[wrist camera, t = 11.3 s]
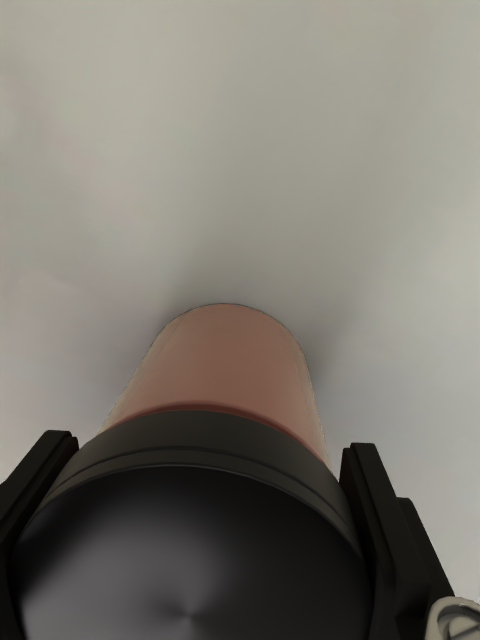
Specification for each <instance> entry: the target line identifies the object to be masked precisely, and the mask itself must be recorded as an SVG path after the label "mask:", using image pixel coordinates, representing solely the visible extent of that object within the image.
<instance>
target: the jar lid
mask: <svg viewBox="0 0 480 640" xmlns="http://www.w3.org/2000/svg"><path fill="white" fill-rule="evenodd" d="M7 583H8V588H9V594H10V598H11V603H12V607H13V612H14V616H15V620H16V623H17V626H18V628H19V631H20V633H21V634H22V636H23V638H24V639H25V640H368V639H369V633H370V628H371V622H372V616H373V609H374V593H373V588H372V584H371V579H370V575H369V571H368V568H367V564H366V561H365V556H364V553H363V549H362V545H361V541H360V538H359V534H358V530H357V526H356V523H355V519H354V515H353V511H352V509H351V506H350V504H349V501H348V499H347V496H346V494H345V492H344V491H343V489H342V487H341V486H340V484H339V482H338V481H337V479H336V478H335V476H334V475H333V474H332V473H331V472H330V470H329V469H328V468H327V467H326V466H325V464H324V463H323V462H322V461H320V460H319V459H318V458H317V457H316V456H315V455H314V454H313V453H312V452H311V451H310V450H308V449H307V448H306V447H304V446H303V445H302V444H300V443H299V442H297V441H296V440H294V439H293V438H291V437H290V436H288V435H286V434H284V433H283V432H280V431H279V430H277V429H275V428H273V427H271V426H268V425H266V424H263V423H260V422H258V421H255V420H253V419H250V418H246V417H242V416H238V415H234V414H230V413H224V412H217V411H210V410H186V409H183V410H172V411H162V412H157V413H152V414H148V415H143V416H139V417H136V418H134V419H131V420H128V421H125V422H122V423H120V424H118V425H116V426H114V427H112V428H110V429H108V430H106V431H104V432H102V433H100V434H99V435H97V436H96V437H95V438H93V439H92V440H90V441H89V442H87V443H86V444H85V445H84V446H83V447H82V448H81V449H80V450H78V451H77V452H76V453H75V454H74V455H73V456H72V457H71V459H70V460H69V461H68V463H67V464H66V465H65V467H64V468H63V469H62V471H61V472H60V474H59V475H58V477H57V478H56V480H55V481H54V483H53V484H52V486H51V487H50V489H49V490H48V492H47V494H46V495H45V497H44V498H43V500H42V501H41V503H40V504H39V506H38V507H37V509H36V510H35V512H34V514H33V515H32V516H31V518H30V520H29V521H28V523H27V524H26V526H25V527H24V529H23V531H22V532H21V534H20V536H19V538H18V540H17V542H16V544H15V546H14V549H13V553H12V556H11V559H10V563H9V571H8V581H7Z"/></svg>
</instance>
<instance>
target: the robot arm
mask: <svg viewBox="0 0 480 640" xmlns="http://www.w3.org/2000/svg"><path fill="white" fill-rule="evenodd" d="M78 450H79V444H78V439H77V437H72V434H71V432H70V431H60V430H47V431H46V432H44V434H43V435H42V436H41V437H40V438H39V440H38V441H37V442H36V443H35V445H34V446H33V447H32V448H31V450H30V451H29V452H28V453H27V455H26V456H25V457H24V458H23V460H22V461H21V462H20V463H19V465H18V466H17V467H16V468H15V470H14V471H13V472H12V473H11V474H10V476H9V477H8V478H7V479H6V481H4V482H3V483H2V484H1V485H0V640H25V639H24V638H23V636H22V634H21V633H20V631H19V628H18V626H17V623H16V620H15V616H14V612H13V607H12V603H11V598H10V594H9V588H8V583H7V581H8V571H9V563H10V559H11V556H12V553H13V549H14V546H15V544H16V542H17V540H18V538H19V536H20V534H21V532H22V531H23V529H24V527H25V526H26V524H27V523H28V521H29V520H30V518H31V516H32V515H33V514H34V512H35V510H36V509H37V507H38V506H39V504H40V503H41V501H42V500H43V498H44V497H45V495H46V494H47V492H48V490H49V489H50V487H51V486H52V484H53V483H54V481H55V480H56V478H57V477H58V475H59V474H60V472H61V471H62V469H63V468H64V467H65V465H66V464H67V463H68V461H69V460H70V459H71V457H72V456H73V455H74V454H75V453H76V452H77V451H78ZM339 484H340V486H341V487H342V489H343V491H344V492H345V494H346V496H347V499H348V501H349V504H350V506H351V509H352V511H353V515H354V519H355V523H356V526H357V530H358V534H359V538H360V541H361V545H362V549H363V553H364V556H365V561H366V564H367V568H368V571H369V575H370V579H371V584H372V588H373V593H374V609H373V616H372V622H371V628H370V633H369V639H368V640H480V605H479V604H478V603H476V602H474V601H472V600H468V599H465V598H462V597H455V594H454V592H453V590H452V588H451V586H450V583H449V581H448V579H447V577H446V575H445V572H444V570H443V568H442V566H441V564H440V561H439V559H438V557H437V555H436V553H435V550H434V548H433V546H432V544H431V542H430V539H429V537H428V535H427V533H426V531H425V528H424V526H423V524H422V522H421V520H420V517H419V515H418V513H417V511H416V509H415V506H414V504H413V503H412V501H411V500H410V499H409V498H400V497H396V495H395V492H394V490H393V487H392V485H391V483H390V480H389V478H388V475H387V473H386V470H385V468H384V466H383V463H382V461H381V458H380V456H379V454H378V451H377V449H376V446H375V445H374V444H373V443H353V442H352V443H351V445H350V448H344V449H343V453H342V462H341V470H340V478H339Z"/></svg>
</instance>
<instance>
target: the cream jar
mask: <svg viewBox="0 0 480 640" xmlns="http://www.w3.org/2000/svg"><path fill="white" fill-rule="evenodd" d="M183 409H186V410H210V411H217V412H224V413H230V414H234V415H238V416H242V417H246V418H250V419H253V420H255V421H258V422H260V423H263V424H266V425H268V426H271V427H273V428H275V429H277V430H279V431H280V432H283V433H284V434H286V435H288V436H290V437H291V438H293V439H294V440H296V441H297V442H299V443H300V444H302V445H303V446H304V447H306V448H307V449H308V450H310V451H311V452H312V453H313V454H314V455H315V456H316V457H317V458H318V459H319V460H320V461H322V462H323V463H324V464H325V466H326V467H327V468H328V469H329V470H330V472H331V473H332V469H331V465H330V460H329V456H328V452H327V448H326V443H325V439H324V435H323V431H322V427H321V422H320V418H319V414H318V410H317V405H316V401H315V397H314V393H313V389H312V384H311V380H310V376H309V372H308V367H307V363H306V360H305V357H304V354H303V352H302V350H301V348H300V346H299V344H298V343H297V341H296V340H295V338H294V337H293V336H292V335H291V333H290V332H289V331H288V330H287V329H286V328H285V327H284V326H283V325H281V324H280V323H279V322H278V321H276V320H275V319H273V318H272V317H270V316H268V315H267V314H265V313H262V312H260V311H258V310H255V309H252V308H249V307H246V306H241V305H235V304H212V305H207V306H202V307H199V308H196V309H193V310H190V311H188V312H186V313H184V314H182V315H180V316H178V317H177V318H175V319H174V320H172V321H171V322H170V323H169V324H168V325H167V326H165V327H164V328H163V330H162V331H161V332H160V333H159V334H158V335H157V337H156V339H155V340H154V342H153V343H152V345H151V347H150V348H149V350H148V352H147V353H146V355H145V356H144V358H143V360H142V361H141V363H140V365H139V366H138V368H137V370H136V371H135V373H134V374H133V376H132V378H131V379H130V381H129V383H128V384H127V386H126V387H125V389H124V391H123V392H122V394H121V396H120V397H119V399H118V401H117V402H116V404H115V405H114V407H113V409H112V410H111V412H110V414H109V415H108V417H107V419H106V420H105V422H104V423H103V425H102V427H101V428H100V430H99V432H98V433H97V435H99V434H100V433H102V432H104V431H106V430H108V429H110V428H112V427H114V426H116V425H118V424H120V423H122V422H125V421H128V420H131V419H134V418H136V417H139V416H143V415H148V414H152V413H157V412H162V411H172V410H183ZM97 435H96V436H97ZM332 474H333V473H332Z"/></svg>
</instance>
